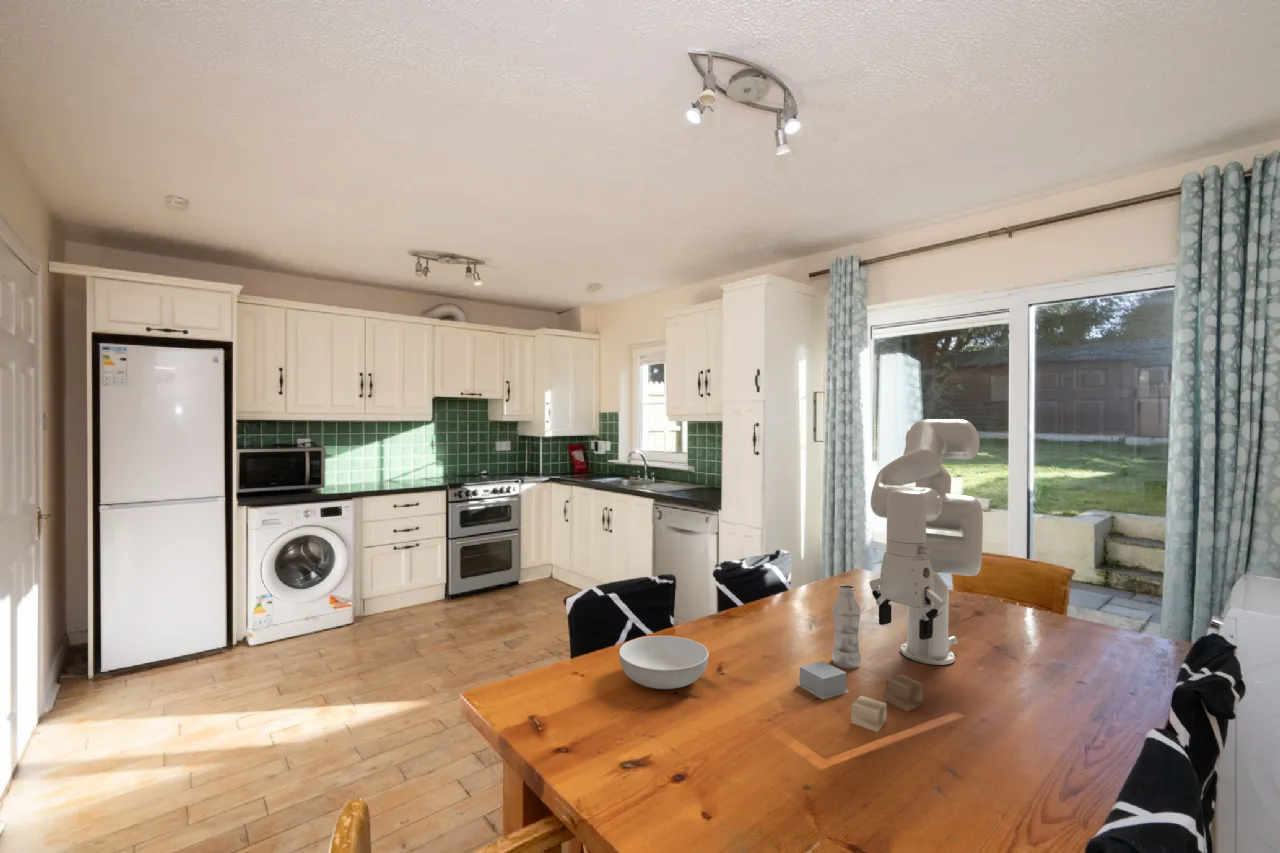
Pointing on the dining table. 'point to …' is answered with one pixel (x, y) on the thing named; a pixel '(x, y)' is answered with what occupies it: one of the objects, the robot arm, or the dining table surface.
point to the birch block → (868, 713)
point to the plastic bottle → (846, 629)
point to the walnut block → (904, 692)
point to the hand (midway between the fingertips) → (904, 630)
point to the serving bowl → (663, 661)
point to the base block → (823, 679)
